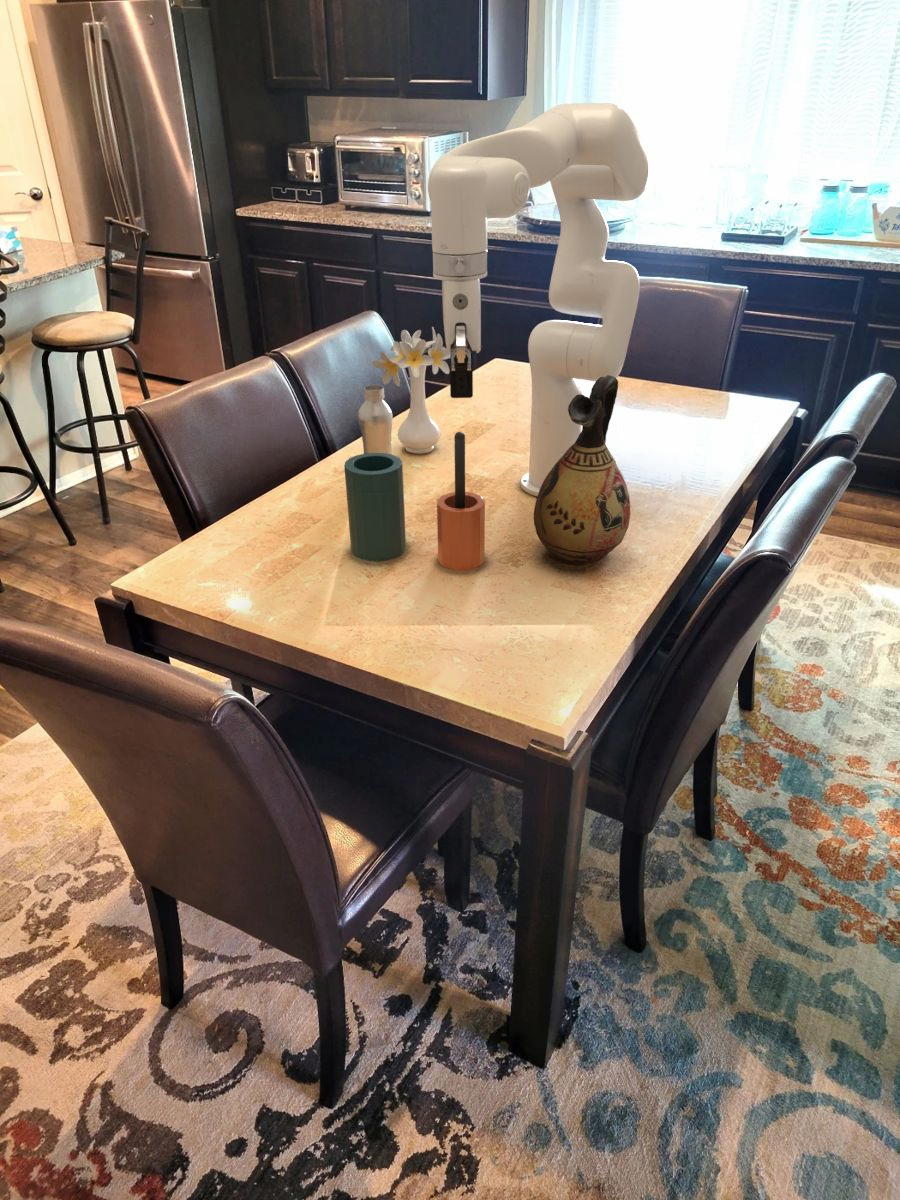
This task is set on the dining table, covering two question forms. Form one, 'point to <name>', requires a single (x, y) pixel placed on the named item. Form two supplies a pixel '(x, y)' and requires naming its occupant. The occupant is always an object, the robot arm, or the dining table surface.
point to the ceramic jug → (585, 488)
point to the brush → (459, 470)
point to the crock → (461, 532)
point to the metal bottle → (375, 421)
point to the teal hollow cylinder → (376, 506)
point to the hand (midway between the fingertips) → (461, 386)
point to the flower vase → (416, 386)
